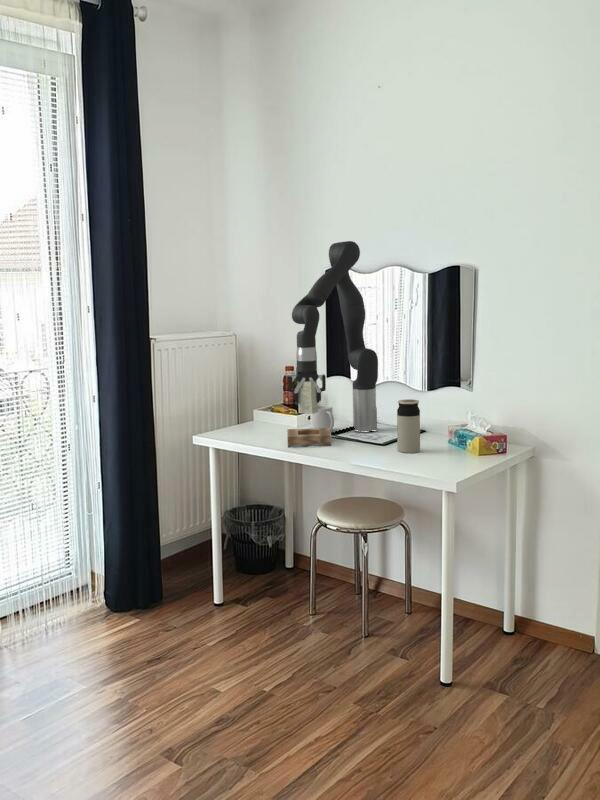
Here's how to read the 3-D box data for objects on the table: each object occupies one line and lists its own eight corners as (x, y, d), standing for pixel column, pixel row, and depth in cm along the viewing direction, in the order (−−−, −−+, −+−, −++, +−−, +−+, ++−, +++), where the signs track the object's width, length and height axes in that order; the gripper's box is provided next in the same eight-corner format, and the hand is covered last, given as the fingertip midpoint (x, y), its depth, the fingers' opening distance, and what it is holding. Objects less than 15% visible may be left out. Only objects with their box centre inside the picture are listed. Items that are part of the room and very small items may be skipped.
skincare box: (318, 412, 301) (317, 380, 299) (312, 414, 298) (311, 381, 296) (303, 411, 305) (303, 379, 303) (297, 413, 301) (296, 381, 299)
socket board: (329, 438, 310) (328, 427, 309) (331, 446, 296) (330, 435, 296) (287, 439, 310) (287, 429, 309) (287, 447, 296) (287, 436, 296)
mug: (311, 429, 328) (310, 405, 326) (334, 429, 327) (333, 404, 325) (310, 435, 317) (309, 410, 315) (334, 434, 316) (333, 409, 315)
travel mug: (423, 449, 286) (423, 400, 283) (414, 454, 279) (413, 403, 276) (403, 447, 290) (403, 398, 287) (393, 452, 284) (393, 402, 281)
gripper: (325, 357, 302) (326, 400, 304) (287, 358, 302) (288, 401, 304) (326, 359, 294) (327, 403, 297) (287, 360, 294) (288, 404, 297)
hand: (307, 402), depth 301 cm, fingers closed on skincare box, 7 cm apart
